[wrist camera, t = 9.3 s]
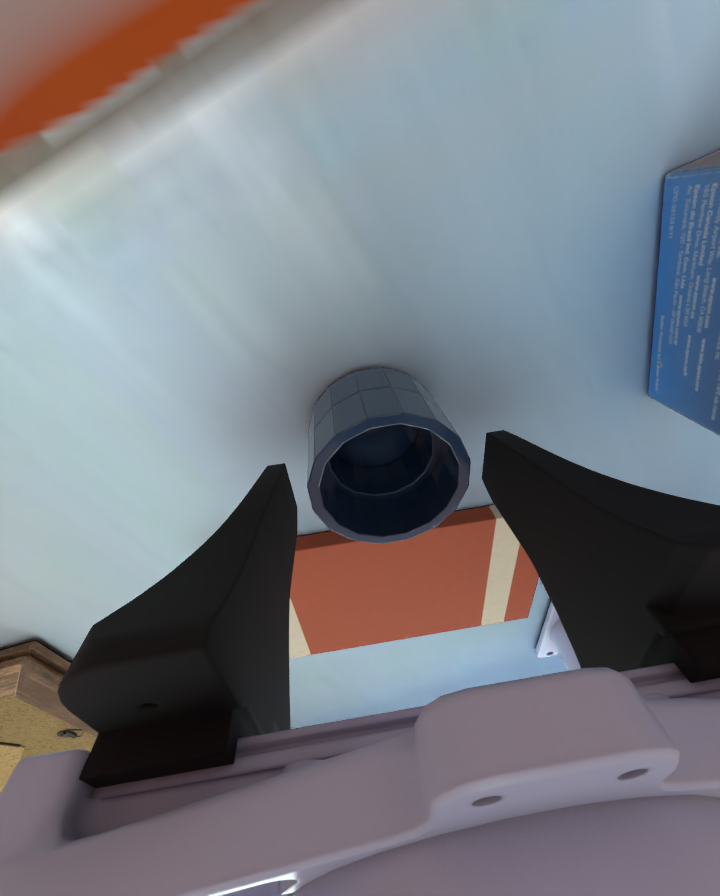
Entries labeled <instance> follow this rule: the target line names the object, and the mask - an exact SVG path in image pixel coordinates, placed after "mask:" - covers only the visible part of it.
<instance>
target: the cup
mask: <svg viewBox="0 0 720 896" xmlns="http://www.w3.org/2000/svg"><path fill="white" fill-rule="evenodd" d="M470 463H471V462H470V458H469V456H468V454H467V451H466V449H465V447H464V445H463V442H462V440H461V438H460V437H459V435H458V434H457V432H456V431H455V429H454V428H453V426H452V425H451V423H450V422H449V421H448V419H447V418H446V416H445V415H444V413H443V412H442V411H441V409H440V408H439V406H438V405H437V403H436V402H435V400H434V399H433V398H432V396H431V395H430V393H429V392H428V390H427V389H426V388H425V387H424V386H422V385H421V384H420V383H419V382H417V381H416V380H415V379H414V378H412V377H411V376H410V375H407V374H406V373H403V372H399V371H395V370H391V369H387V368H375V369H369V370H362V371H356V372H355V373H354V372H352V373H351V374H349V375H347V376H345V377H344V378H342V379H340V380H338V381H337V382H335V383H333V384H332V385H331V386H329V387H328V388H327V390H326V391H325V392H324V394H323V395H322V396H321V397H320V399H319V400H318V401H317V403H316V404H315V406H314V409H313V413H312V417H311V421H310V425H309V445H308V476H307V488H308V492H309V496H310V500H311V504H312V508H313V510H314V512H315V513H316V514H317V516H318V517H319V518H320V519H321V520H322V521H323V522H324V523H325V525H326V526H327V527H328V528H329V529H330V530H332V531H334V532H336V533H338V534H340V535H342V536H344V537H347V538H349V539H351V540H354V541H359V542H367V543H376V544H385V543H391V542H397V541H403V540H408V539H411V538H414V537H416V536H418V535H420V534H422V533H424V532H427V531H429V530H431V529H433V528H434V527H436V526H437V525H439V524H440V523H441V522H442V521H443V520H444V519H445V518H447V517H448V516H449V515H450V514H451V513H452V512H453V511H455V509H456V508H457V506H458V505H459V503H460V501H461V499H462V497H463V496H464V494H465V492H466V490H467V489H468V486H469V476H470Z"/></svg>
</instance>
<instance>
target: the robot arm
mask: <svg viewBox="0 0 720 896" xmlns="http://www.w3.org/2000/svg"><path fill="white" fill-rule="evenodd" d="M482 480H483V482H484V484H485V486H486V489H487V491H488V493H489V495H490V497H491V499H492V501H493V503H494V504H495V506H496V508H497V509H498V511H499V512H500V514H501V515H502V517H503V518H504V520H505V522H506V523H507V525H508V526H509V528H510V529H511V531H512V532H513V534H514V535H515V537H516V538H517V540H518V541H519V543H520V544H521V546H522V547H523V549H524V550H525V552H526V554H527V555H528V557H529V559H530V560H531V562H532V564H533V566H534V568H535V570H536V571H537V573H538V575H539V577H540V579H541V581H542V583H543V585H544V587H545V589H546V591H547V593H548V595H549V597H550V599H551V604H550V607H549V610H548V613H547V616H546V619H545V622H544V626H543V629H542V632H541V635H540V638H539V641H538V644H537V647H536V650H535V653H536V655H537V656H538V657H540V658H542V657H548V656H554V655H560V656H561V658H562V660H563V662H564V663H565V665H566V667H567V669H568V670H569V671H565V672H559V673H553V674H548V675H542V676H536V677H530V678H525V679H519V680H513V681H507V682H502V683H496V684H490V685H484V686H479V687H473V688H467V689H463V690H460V691H457V692H453V693H450V694H446V695H443V696H441V697H439V698H437V699H436V700H434V701H432V702H431V703H429V704H428V705H426V706H422V707H416V708H410V709H405V710H399V711H393V712H387V713H382V714H376V715H370V716H365V717H359V718H353V719H347V720H342V721H336V722H330V723H324V724H319V725H313V726H307V727H302V728H296V729H290V696H289V609H290V591H291V582H292V574H293V566H294V557H295V549H296V540H297V505H296V501H295V498H294V494H293V491H292V487H291V483H290V480H289V476H288V473H287V469H286V465H285V463H284V464H277V465H271V466H267V467H266V469H265V470H264V471H263V473H262V474H261V476H260V477H259V478H258V480H257V481H256V483H255V484H254V485H253V487H252V488H251V490H250V491H249V492H248V494H247V495H246V496H245V498H244V499H243V500H242V501H241V503H240V504H239V505H238V507H237V508H236V509H235V510H234V512H233V513H232V514H231V515H230V516H229V517H228V519H227V520H226V521H225V522H224V523H223V524H222V526H221V527H220V528H219V529H218V530H217V531H216V532H215V533H214V534H213V535H212V536H211V537H210V538H209V539H208V540H207V541H206V542H205V543H204V544H203V545H202V546H201V547H200V548H199V549H198V550H196V551H195V552H194V553H193V554H192V555H191V556H189V557H188V558H187V559H186V560H185V561H184V562H182V563H181V564H180V565H179V566H178V567H177V568H175V569H174V570H173V571H172V572H170V573H169V574H168V575H167V576H165V577H164V578H163V579H161V580H160V581H159V582H157V583H156V584H155V585H153V586H152V587H151V588H149V589H148V590H146V591H145V592H144V593H142V594H141V595H139V596H138V597H136V598H135V599H133V600H132V601H130V602H129V603H127V604H126V605H124V606H123V607H121V608H120V609H118V610H116V611H115V612H113V613H112V614H110V615H109V616H107V617H106V618H104V619H102V620H101V621H99V622H98V623H96V624H94V625H93V626H92V628H91V629H90V631H89V633H88V635H87V636H86V638H85V640H84V642H83V643H82V645H81V647H80V649H79V651H78V652H77V654H76V656H75V658H74V659H73V661H72V663H71V665H70V666H69V668H68V670H67V672H66V674H65V675H64V677H63V679H62V681H61V682H60V685H59V688H58V691H57V692H58V695H59V698H60V701H61V703H62V704H63V705H64V706H65V707H66V708H67V709H68V710H69V711H70V712H71V713H72V714H74V715H75V716H76V717H78V718H79V719H80V720H82V721H83V722H84V723H86V724H87V725H88V726H90V727H91V728H92V729H94V730H95V731H96V732H98V736H97V738H96V740H95V743H94V745H93V747H92V750H91V751H88V750H81V749H75V750H66V751H60V752H54V753H49V754H43V755H37V756H31V757H26V758H23V759H22V760H20V761H19V762H18V763H17V765H16V767H15V769H14V770H13V772H12V774H11V776H10V778H9V779H8V781H7V783H6V785H5V787H4V788H3V790H2V792H1V794H0V896H720V506H719V505H714V504H709V503H704V502H700V501H695V500H690V499H686V498H681V497H677V496H673V495H669V494H665V493H661V492H657V491H654V490H650V489H646V488H643V487H639V486H636V485H633V484H629V483H626V482H623V481H620V480H617V479H614V478H611V477H608V476H606V475H603V474H600V473H597V472H595V471H592V470H589V469H587V468H585V467H582V466H580V465H577V464H575V463H573V462H570V461H568V460H566V459H564V458H561V457H559V456H557V455H555V454H553V453H551V452H549V451H546V450H544V449H542V448H540V447H538V446H536V445H534V444H532V443H530V442H528V441H526V440H524V439H522V438H520V437H518V436H516V435H513V434H511V433H509V432H507V431H504V430H502V431H495V432H489V433H487V434H486V443H485V453H484V463H483V473H482Z"/></svg>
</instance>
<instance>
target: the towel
mask: <svg viewBox="0 0 720 896" xmlns="http://www.w3.org/2000/svg"><path fill="white" fill-rule="evenodd" d="M538 578H539V575H538V573H537V571H536V570H535V568H534V566H533V564H532V562H531V560H530V559H529V557H528V555H527V554H526V552H525V550H524V549H523V547H522V546H521V544H520V543H519V541H518V540H517V538H516V537H515V535H514V534H513V532H512V531H511V529H510V528H509V526H508V525H507V523H506V522H505V520H504V518H503V517H502V515H501V514H500V512H499V511H498V509H497V508H496V506H495V505H489V506H487V507H480V508H474V509H468V510H462V511H455V512H452V513H451V514H450V515H449V516H448V517H447V518H445V519H444V520H443V521H442V522H441V523H440V524H439V525H437V526H436V527H434V528H433V529H431V530H429V531H427V532H424V533H422V534H420V535H418V536H416V537H414V538H411V539H408V540H403V541H397V542H391V543H385V544H376V543H367V542H359V541H354V540H351V539H349V538H347V537H344V536H342V535H340V534H338V533H336V532H334V531H330V532H324V533H318V534H312V535H305V536H299V537H297V540H296V549H295V557H294V566H293V574H292V582H291V591H290V609H289V659H291V658H297V657H303V656H309V655H312V654H318V653H324V652H330V651H336V650H341V649H347V648H353V647H359V646H365V645H371V644H376V643H382V642H388V641H394V640H400V639H406V638H411V637H417V636H423V635H429V634H435V633H441V632H446V631H452V630H458V629H464V628H470V627H476V626H485V625H491V624H496V623H502V622H505V621H511V620H517V619H522V618H527V617H528V615H529V612H530V608H531V604H532V601H533V597H534V593H535V590H536V586H537V582H538Z"/></svg>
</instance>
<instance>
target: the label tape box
mask: <svg viewBox="0 0 720 896" xmlns="http://www.w3.org/2000/svg"><path fill="white" fill-rule="evenodd" d="M648 396H649V397H651V398H652V399H654V400H656V401H658V402H660V403H662V404H664V405H665V406H667V407H669V408H670V409H672V410H674V411H676V412H678V413H680V414H682V415H683V416H685V417H687V418H688V419H690V420H692V421H694V422H696V423H698V424H699V425H701V426H703V427H705V428H707V429H708V430H710V431H712V432H713V433H715V434H717V435H719V436H720V149H719V150H717V151H715V152H713V153H711V154H709V155H707V156H705V157H702V158H700V159H698V160H695V161H693V162H691V163H688V164H686V165H684V166H682V167H679V168H677V169H675V170H673V171H671V172H669V173H668V174H667V175H666V178H665V182H664V195H663V209H662V225H661V241H660V254H659V267H658V280H657V292H656V304H655V317H654V330H653V343H652V356H651V368H650V379H649V390H648Z"/></svg>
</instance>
